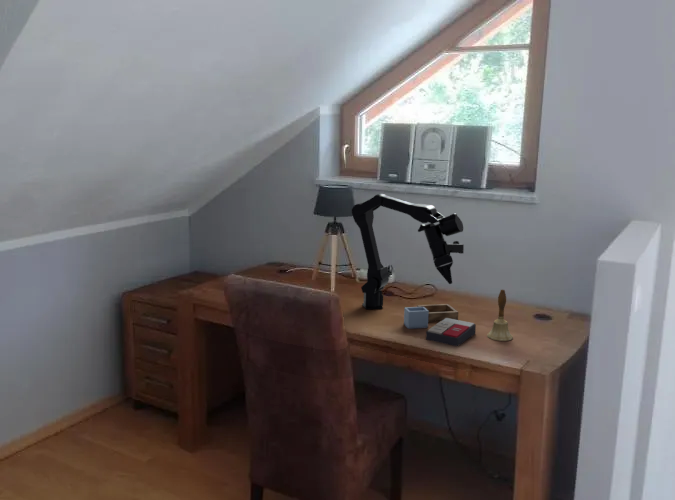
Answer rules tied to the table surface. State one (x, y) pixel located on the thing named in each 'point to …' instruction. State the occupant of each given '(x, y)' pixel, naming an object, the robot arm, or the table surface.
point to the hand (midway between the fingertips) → (450, 282)
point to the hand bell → (500, 322)
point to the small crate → (416, 317)
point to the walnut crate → (440, 312)
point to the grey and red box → (451, 331)
